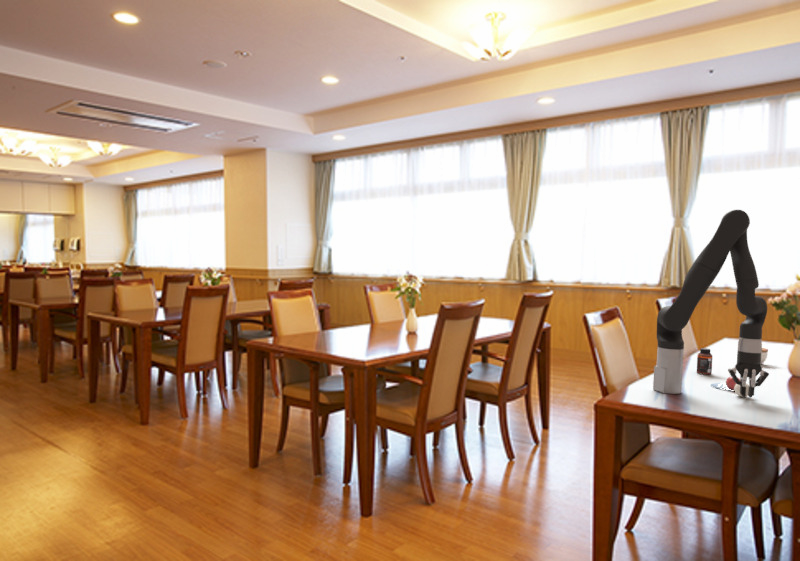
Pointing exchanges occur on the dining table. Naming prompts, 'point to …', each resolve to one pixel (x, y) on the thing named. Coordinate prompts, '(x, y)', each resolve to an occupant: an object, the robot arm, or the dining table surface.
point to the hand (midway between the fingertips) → (746, 396)
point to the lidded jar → (764, 355)
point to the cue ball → (737, 389)
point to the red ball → (731, 383)
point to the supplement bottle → (704, 362)
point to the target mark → (717, 385)
